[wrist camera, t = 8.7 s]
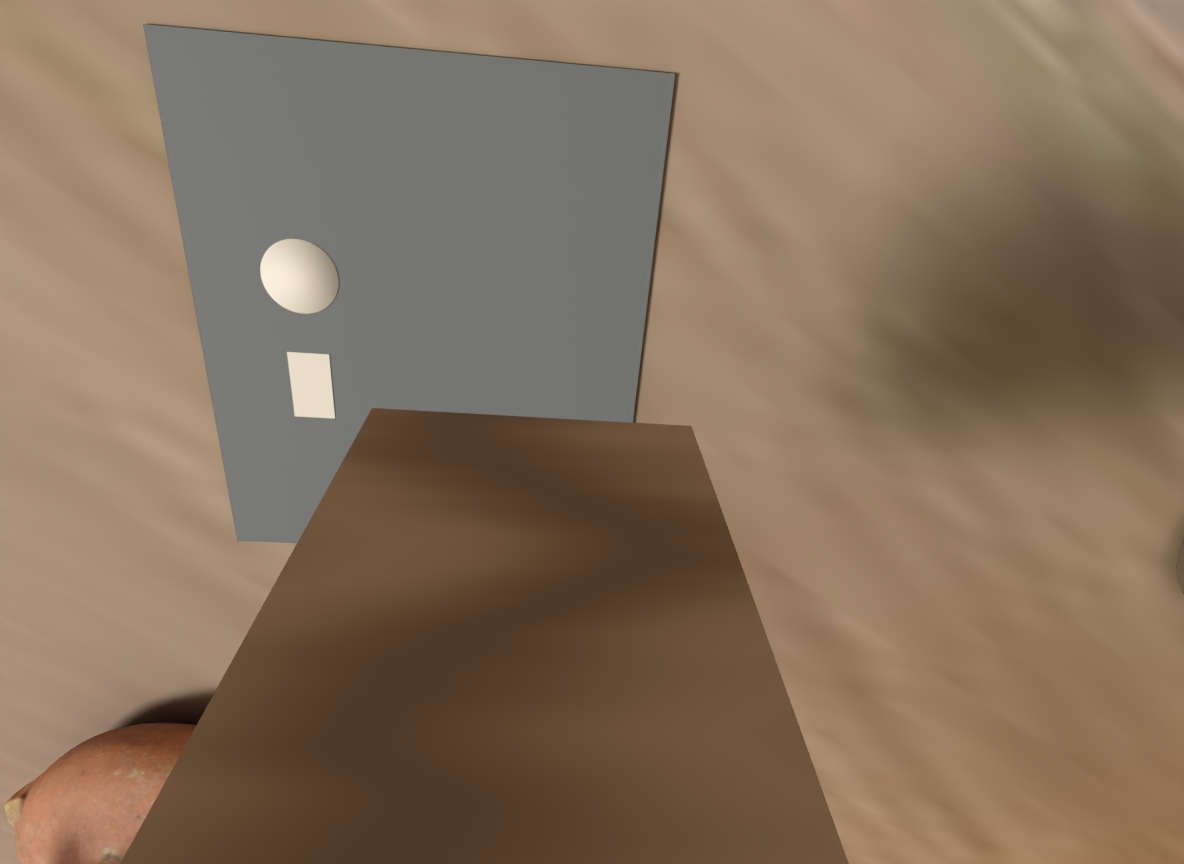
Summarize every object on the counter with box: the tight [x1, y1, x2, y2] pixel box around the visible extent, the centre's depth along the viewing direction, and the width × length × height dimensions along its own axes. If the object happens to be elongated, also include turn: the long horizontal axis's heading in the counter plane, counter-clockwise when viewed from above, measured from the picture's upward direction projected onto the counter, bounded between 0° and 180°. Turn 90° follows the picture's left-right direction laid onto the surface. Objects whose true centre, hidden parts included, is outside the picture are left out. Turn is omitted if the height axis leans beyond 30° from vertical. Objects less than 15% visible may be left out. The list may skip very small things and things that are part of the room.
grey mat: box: [143, 24, 675, 543], centre depth 27 cm, size 17×20×1 cm
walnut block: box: [120, 408, 848, 864], centre depth 11 cm, size 6×9×8 cm, turn 175°
